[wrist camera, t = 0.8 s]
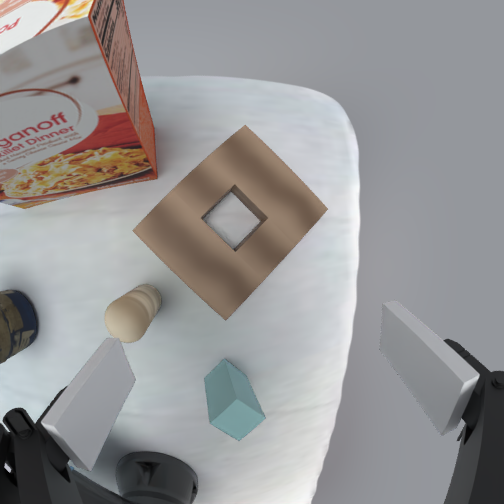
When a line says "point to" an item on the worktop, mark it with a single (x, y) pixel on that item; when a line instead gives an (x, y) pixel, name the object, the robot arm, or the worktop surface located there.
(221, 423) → the square peg
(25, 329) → the canister
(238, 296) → the socket block
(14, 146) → the pasta box
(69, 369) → the worktop surface
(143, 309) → the round dowel
